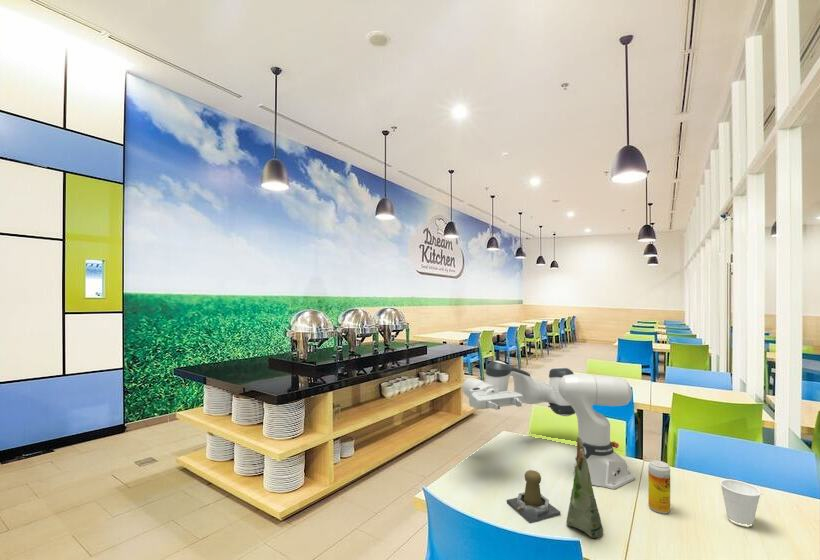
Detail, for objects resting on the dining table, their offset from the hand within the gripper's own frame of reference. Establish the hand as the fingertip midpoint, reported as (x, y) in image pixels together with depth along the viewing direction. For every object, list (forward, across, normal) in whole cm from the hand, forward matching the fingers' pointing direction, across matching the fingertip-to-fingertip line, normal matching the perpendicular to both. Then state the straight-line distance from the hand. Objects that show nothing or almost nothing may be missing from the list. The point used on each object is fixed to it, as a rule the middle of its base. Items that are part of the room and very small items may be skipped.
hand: (509, 405), depth 142 cm
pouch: (+26, -8, -30) cm, 41 cm away
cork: (+13, 0, -29) cm, 32 cm away
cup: (+42, -56, -30) cm, 76 cm away
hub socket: (+13, 0, -30) cm, 33 cm away
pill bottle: (+28, -39, -30) cm, 57 cm away
